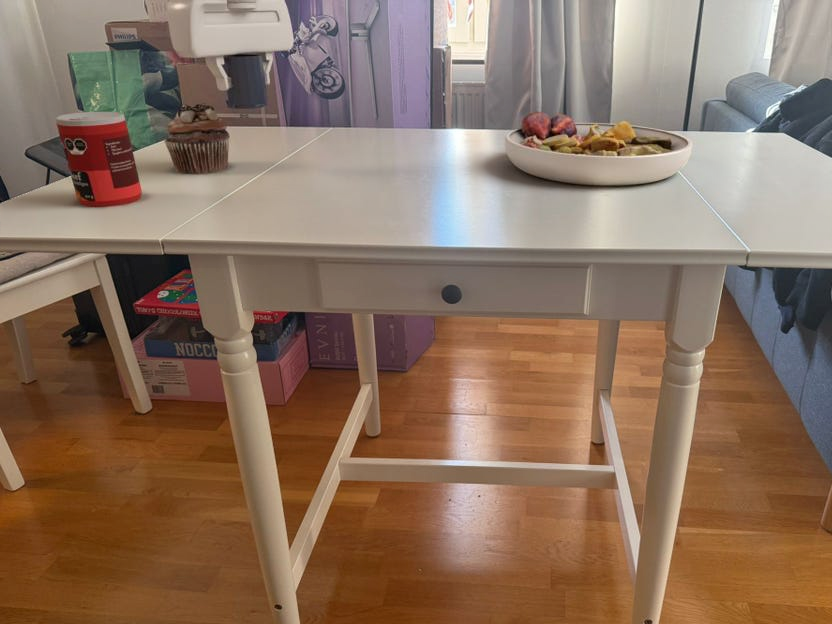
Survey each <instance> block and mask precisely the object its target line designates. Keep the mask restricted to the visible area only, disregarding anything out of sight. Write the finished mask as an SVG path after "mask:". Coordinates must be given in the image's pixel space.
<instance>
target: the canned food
mask: <svg viewBox="0 0 832 624" xmlns="http://www.w3.org/2000/svg"><path fill="white" fill-rule="evenodd" d="M55 123H56V127H57V130H58V131H57V132H58V135H59V139H60V142H61V146H62V149H63V153H64V156H65V160H66V163H67V168H68V171H69V174H70V177H71V181H72V185H73V187H74V190H75V191H74V192H75V196H76V199H77V200H78V202H79V203H80V205H82V206H84V207H90V208H108V207H109V208H110V207H118V206H123V205H128V204H133V203H136V202H138V201H139V200H141V198H142V195H143V194H142V192H143V191H142V186H141V181H140V177H139V173H138V168H137V164H136V163H137V162H136V159H135V154H134V149H133V146H132V142H131V138H130V133H129V128H128V124H127V121H126V118H125V114H124V113H121V112H118V111H117V112H116V111H84V112H74V113H67V114H62V115H59V116H57V117H55Z"/></svg>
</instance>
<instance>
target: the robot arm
mask: <svg viewBox="0 0 832 624" xmlns="http://www.w3.org/2000/svg"><path fill="white" fill-rule="evenodd" d="M166 13H167V22H168V29H169V35H170V41H171V45H172V48H173V49H174V51H175V52H176V54H177V55H178V56H179V57H180V58H186V59H187V58H188V59H201V58H205V65H206V66H207V68H208V69H209V71H210V72H211V74H212V75H213V77H215V82H216V87H217V90H218V91H227V90H232V89H233V84H232V82H233V80H232V77H228V76H227V75H226V73H225V71H224V69H223V67H222V65H223V64H224V58H223V56H225V55H237V54H259V55H262V61H263V68H264V76H265V83H266V86H269V85H271V79H270V72H271V69H272V65H273V62H274V57H273V56H274V55H273V52H284V51H291V50H292V49H293V46H294V43H295V37H294V32H293V31H294V30H293V27H292V21H291V16H290V12H289V9H288V6H287V4H286V1H285V0H168V2H167V5H166Z"/></svg>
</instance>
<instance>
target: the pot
mask: <svg viewBox="0 0 832 624" xmlns="http://www.w3.org/2000/svg"><path fill="white" fill-rule="evenodd" d="M223 58H224V64H223V65H222V67H223V69H224V71H225V73H226V75H227V76H228V77H232V80H233V82H232V84H233V89H232V90H227V91H224V93H223V94H224V98H225V104H226V107H227V108H228V109H233V110H255V109H262V108H267V107H269V99H268V91H267V85H266V83H265V76H264V68H263V61H262V55H259V54H256V53H249V54H237V55H225V56H223Z"/></svg>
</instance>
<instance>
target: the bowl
mask: <svg viewBox="0 0 832 624" xmlns="http://www.w3.org/2000/svg"><path fill="white" fill-rule="evenodd" d="M504 148H505V152H506V155H507V157H508V158H509V160H510V161H511V163H512V164H513V165H514V166H515V167H517V168H518V169H520V170H521V171H522V172H524V173H527V174H529V175H532V176H534V177H537V178H540V179H544V180H548V181H554V182H559V183H565V184H573V185H584V186H603V187H604V186H605V187H606V186H609V187H611V186H612V187H613V186H614V187H615V186H617V187H618V186H634V185H643V184H648V183H654V182H659V181H661V180H665V179H667V178H670V177H672V176H674V175H675V174H677V173H678V172H680V171H681V170H682V169H683V168H684V167H685V166H686V164H687V163H688V161H689V159H690V157H691V155H692V152H693V151H692V150H693V140H691V139H690V138H688V137H686V136H684V135H682V134H679V133H676V132H672V131H668V130H664V129H659V128H653V127H647V126H641V125H639V126H638V125H632V124H630V123H629V122H628V121H626V120H621V121H619V122H618V123H606V122H605V123H604V122H603V123H602V122H575V121H574V120H573V119H572V118H571V117H570V116H569V115H567V114H563V113H561V114H559V113H558V114H555V115H554V116H552V118H550V116H549V115H548V114H547V113H545V112H543V111H539V110H538V111H537V110H535V111H534V112H530V113H529V114H527V115H526V116H525V117H524V118H523V119H522V121H521V127H518V128H515V129H512V130H510V131H508V132H507V133H506V134H505V136H504Z"/></svg>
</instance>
